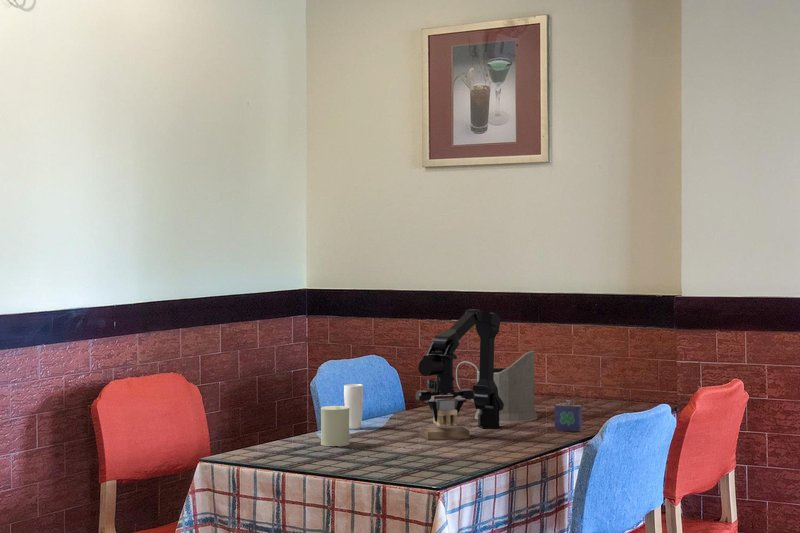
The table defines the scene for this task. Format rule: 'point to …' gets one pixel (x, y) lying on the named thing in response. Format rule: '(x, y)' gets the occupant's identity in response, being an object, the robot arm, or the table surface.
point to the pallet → (446, 417)
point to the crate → (445, 404)
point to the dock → (445, 433)
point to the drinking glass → (354, 404)
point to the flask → (568, 417)
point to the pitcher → (514, 389)
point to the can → (335, 426)
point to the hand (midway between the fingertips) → (445, 421)
